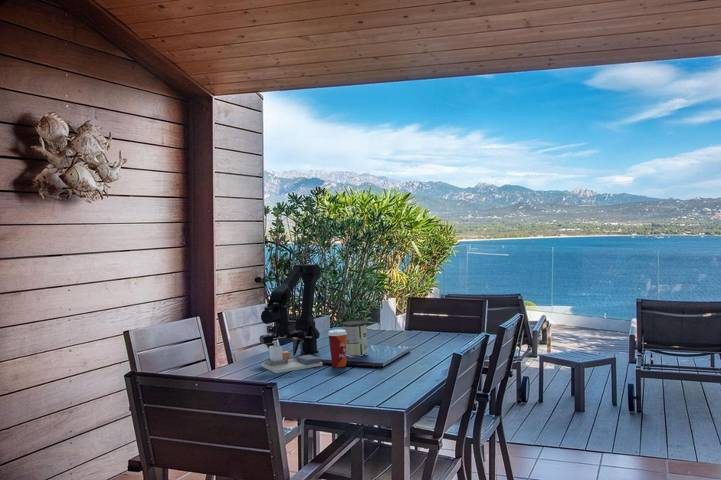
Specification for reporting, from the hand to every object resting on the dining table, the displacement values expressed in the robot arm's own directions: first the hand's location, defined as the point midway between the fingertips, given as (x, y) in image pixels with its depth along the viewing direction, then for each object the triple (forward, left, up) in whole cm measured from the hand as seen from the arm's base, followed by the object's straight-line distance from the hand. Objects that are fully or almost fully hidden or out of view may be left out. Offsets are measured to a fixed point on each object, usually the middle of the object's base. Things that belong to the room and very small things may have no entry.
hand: (283, 357), depth 283 cm
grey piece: (-5, +14, 0) cm, 15 cm away
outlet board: (+1, +11, -2) cm, 11 cm away
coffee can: (-29, +10, -2) cm, 31 cm away
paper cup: (-14, +24, -2) cm, 28 cm away
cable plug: (0, -4, -2) cm, 4 cm away
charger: (+6, +7, 0) cm, 9 cm away
